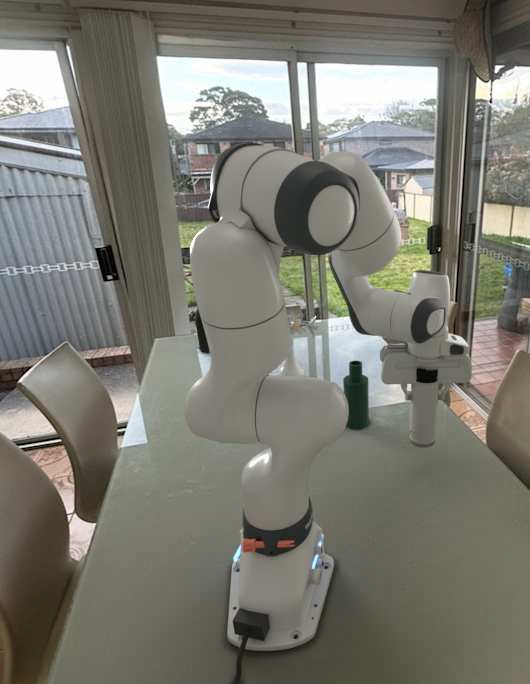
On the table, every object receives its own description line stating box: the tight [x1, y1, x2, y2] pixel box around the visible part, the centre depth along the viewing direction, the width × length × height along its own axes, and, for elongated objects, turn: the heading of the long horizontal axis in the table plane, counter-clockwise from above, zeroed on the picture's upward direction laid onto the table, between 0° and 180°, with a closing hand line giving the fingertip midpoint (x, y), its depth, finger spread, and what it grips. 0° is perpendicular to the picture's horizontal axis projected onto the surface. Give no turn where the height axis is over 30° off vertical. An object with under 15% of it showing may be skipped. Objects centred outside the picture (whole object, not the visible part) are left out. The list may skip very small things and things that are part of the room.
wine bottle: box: [194, 306, 210, 353], centre depth 177 cm, size 8×8×30 cm
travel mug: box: [408, 368, 440, 449], centre depth 102 cm, size 6×7×20 cm
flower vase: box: [277, 310, 319, 376], centre depth 150 cm, size 13×18×25 cm
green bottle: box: [342, 360, 370, 430], centre depth 125 cm, size 7×7×19 cm
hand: (424, 399), depth 101 cm, fingers closed on travel mug, 6 cm apart
